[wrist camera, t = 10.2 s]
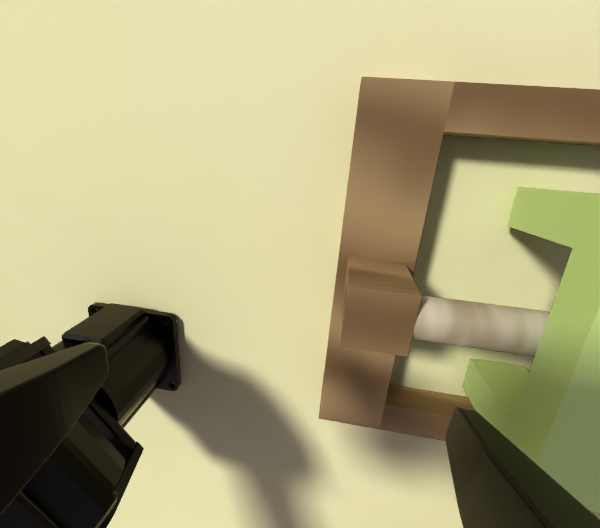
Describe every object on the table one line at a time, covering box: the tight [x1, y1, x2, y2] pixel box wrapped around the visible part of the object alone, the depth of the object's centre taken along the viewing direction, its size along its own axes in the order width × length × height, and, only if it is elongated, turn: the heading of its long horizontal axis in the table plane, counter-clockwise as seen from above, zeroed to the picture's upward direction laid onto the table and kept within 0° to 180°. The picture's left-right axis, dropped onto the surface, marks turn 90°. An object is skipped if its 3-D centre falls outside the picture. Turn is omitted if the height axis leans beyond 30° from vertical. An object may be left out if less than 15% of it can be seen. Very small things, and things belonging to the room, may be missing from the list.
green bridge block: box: [462, 187, 600, 513], centre depth 14 cm, size 12×3×7 cm, turn 176°
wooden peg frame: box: [319, 77, 600, 441], centre depth 16 cm, size 20×20×6 cm
